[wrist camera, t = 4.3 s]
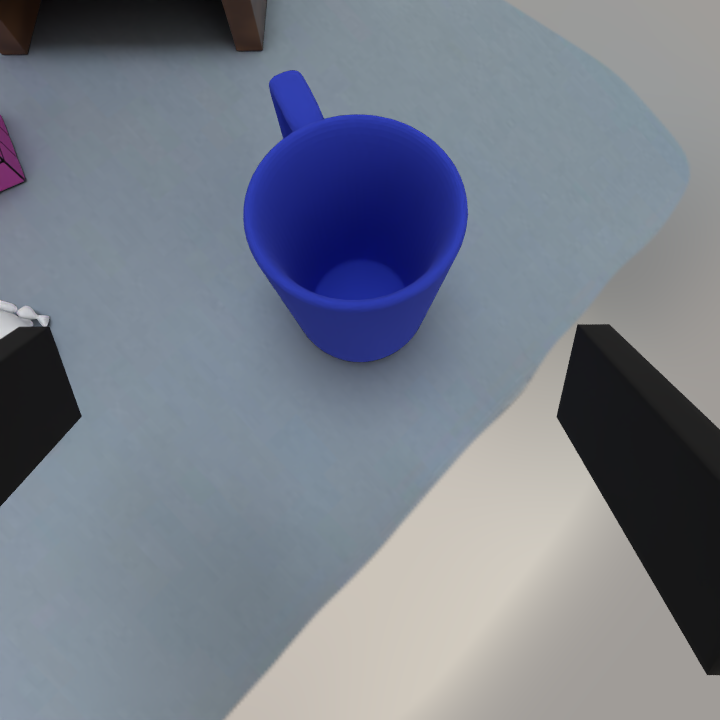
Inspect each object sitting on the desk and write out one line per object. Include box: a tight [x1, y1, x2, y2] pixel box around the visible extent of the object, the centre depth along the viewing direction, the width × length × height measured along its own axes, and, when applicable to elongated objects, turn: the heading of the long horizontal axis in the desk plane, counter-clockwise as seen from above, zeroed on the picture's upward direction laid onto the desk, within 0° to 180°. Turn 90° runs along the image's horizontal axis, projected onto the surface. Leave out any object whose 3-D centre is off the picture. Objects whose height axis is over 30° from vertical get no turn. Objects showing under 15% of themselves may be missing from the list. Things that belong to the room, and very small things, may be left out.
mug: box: [244, 70, 468, 362], centre depth 23 cm, size 8×12×10 cm
